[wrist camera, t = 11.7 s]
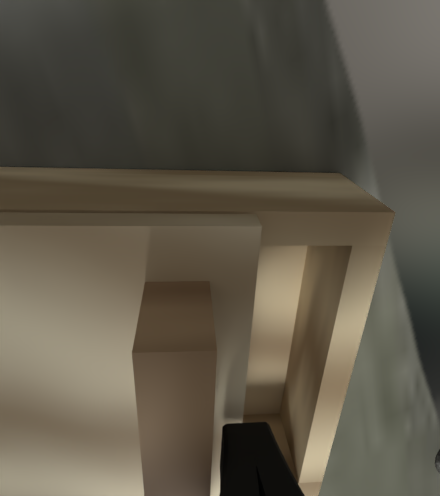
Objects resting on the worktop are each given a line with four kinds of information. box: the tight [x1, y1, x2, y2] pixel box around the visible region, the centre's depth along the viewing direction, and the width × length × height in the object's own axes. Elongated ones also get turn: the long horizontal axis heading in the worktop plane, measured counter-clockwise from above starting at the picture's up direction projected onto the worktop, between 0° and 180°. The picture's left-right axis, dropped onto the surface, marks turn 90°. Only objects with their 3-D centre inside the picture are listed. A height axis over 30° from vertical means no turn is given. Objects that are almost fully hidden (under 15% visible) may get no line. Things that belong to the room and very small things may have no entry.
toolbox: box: [0, 167, 395, 496], centre depth 14 cm, size 13×22×4 cm, turn 88°
